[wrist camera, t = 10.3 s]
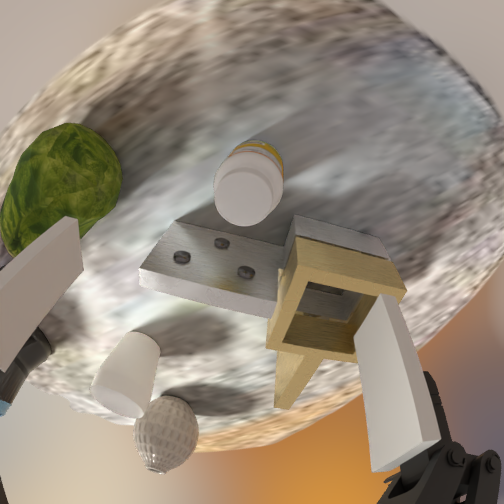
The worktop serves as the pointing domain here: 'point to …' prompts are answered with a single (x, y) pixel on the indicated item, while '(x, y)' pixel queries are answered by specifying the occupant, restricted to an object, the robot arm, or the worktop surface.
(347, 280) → the beige square frame
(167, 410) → the vase
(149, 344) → the cup
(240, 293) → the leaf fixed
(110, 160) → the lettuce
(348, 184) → the worktop surface
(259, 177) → the supplement bottle
